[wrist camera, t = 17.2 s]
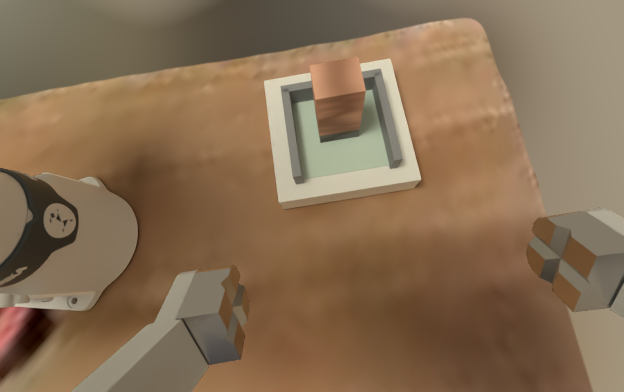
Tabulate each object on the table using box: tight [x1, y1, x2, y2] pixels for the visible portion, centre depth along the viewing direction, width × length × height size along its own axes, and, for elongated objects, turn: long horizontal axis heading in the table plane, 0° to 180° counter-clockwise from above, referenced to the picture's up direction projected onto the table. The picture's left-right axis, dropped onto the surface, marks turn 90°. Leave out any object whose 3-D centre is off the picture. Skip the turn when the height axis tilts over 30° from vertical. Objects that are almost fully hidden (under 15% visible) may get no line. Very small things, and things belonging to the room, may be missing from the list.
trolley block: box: [310, 57, 366, 143], centre depth 34 cm, size 5×4×10 cm
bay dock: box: [264, 59, 421, 209], centre depth 40 cm, size 18×18×7 cm
